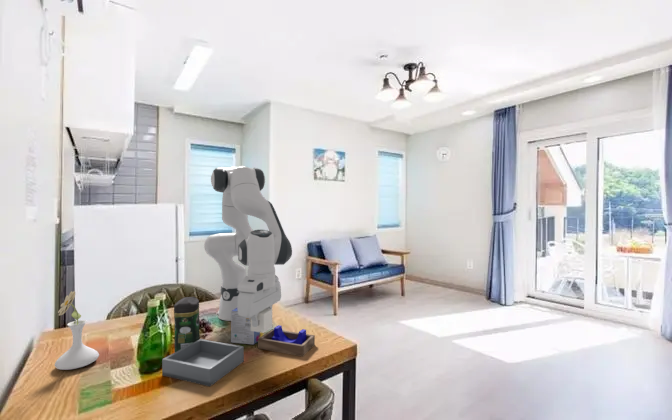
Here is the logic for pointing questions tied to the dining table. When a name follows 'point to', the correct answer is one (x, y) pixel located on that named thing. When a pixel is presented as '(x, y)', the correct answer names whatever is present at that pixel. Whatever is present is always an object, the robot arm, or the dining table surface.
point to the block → (263, 321)
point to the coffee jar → (186, 322)
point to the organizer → (286, 343)
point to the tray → (203, 362)
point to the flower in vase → (75, 341)
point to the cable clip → (282, 337)
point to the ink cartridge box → (242, 329)
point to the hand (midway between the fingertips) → (261, 322)
